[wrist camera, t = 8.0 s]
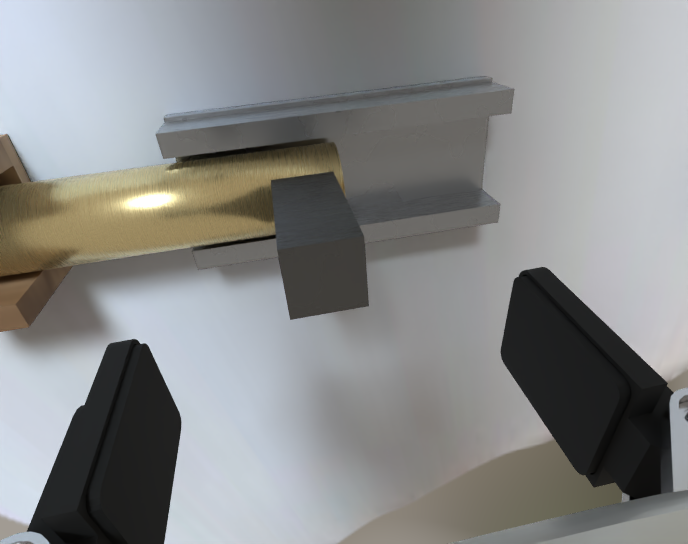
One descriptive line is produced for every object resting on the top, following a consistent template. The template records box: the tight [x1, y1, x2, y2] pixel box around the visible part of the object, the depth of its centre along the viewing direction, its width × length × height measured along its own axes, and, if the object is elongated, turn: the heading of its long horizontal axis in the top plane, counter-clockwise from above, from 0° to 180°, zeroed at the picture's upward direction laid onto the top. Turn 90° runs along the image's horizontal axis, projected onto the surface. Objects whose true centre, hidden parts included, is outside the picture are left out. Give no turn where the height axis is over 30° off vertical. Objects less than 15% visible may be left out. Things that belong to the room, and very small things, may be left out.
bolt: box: [0, 142, 369, 320], centre depth 19 cm, size 4×20×11 cm, turn 95°
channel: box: [156, 76, 514, 270], centre depth 25 cm, size 8×18×3 cm, turn 95°
